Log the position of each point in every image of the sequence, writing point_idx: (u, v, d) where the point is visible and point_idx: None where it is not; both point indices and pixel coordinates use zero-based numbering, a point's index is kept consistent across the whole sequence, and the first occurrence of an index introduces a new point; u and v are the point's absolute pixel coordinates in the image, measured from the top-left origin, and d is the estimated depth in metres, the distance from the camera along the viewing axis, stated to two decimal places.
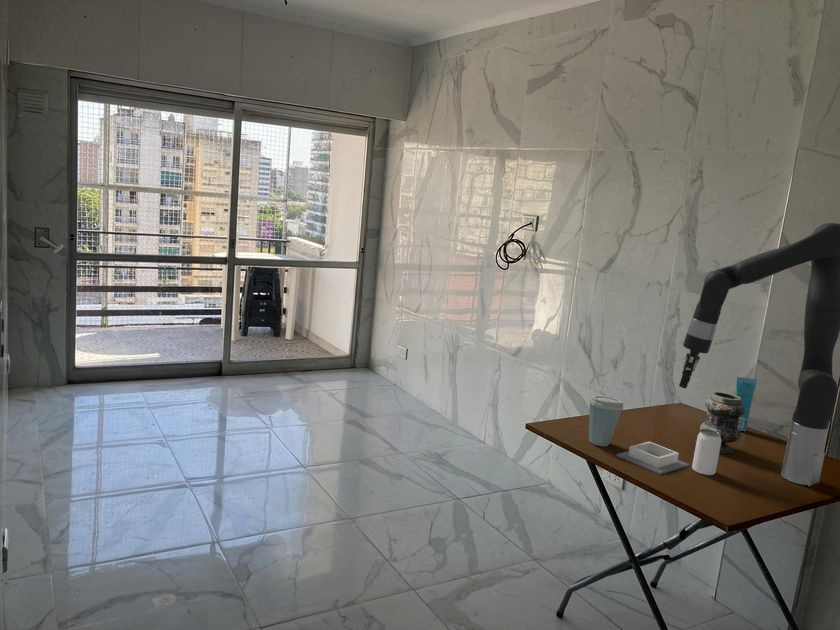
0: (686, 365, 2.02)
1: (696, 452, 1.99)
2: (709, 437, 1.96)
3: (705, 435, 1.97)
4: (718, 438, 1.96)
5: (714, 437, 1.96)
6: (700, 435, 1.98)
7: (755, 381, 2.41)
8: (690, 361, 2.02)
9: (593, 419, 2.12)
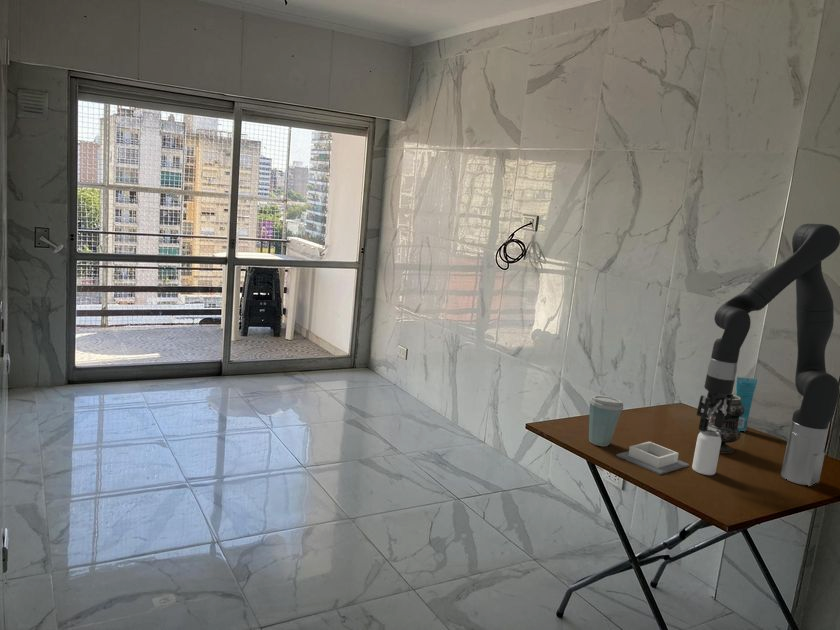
0: (699, 406, 1.93)
1: (696, 452, 1.99)
2: (709, 437, 1.96)
3: (705, 435, 1.97)
4: (718, 438, 1.96)
5: (714, 437, 1.96)
6: (700, 435, 1.98)
7: (755, 381, 2.41)
8: (703, 401, 1.92)
9: (593, 419, 2.12)
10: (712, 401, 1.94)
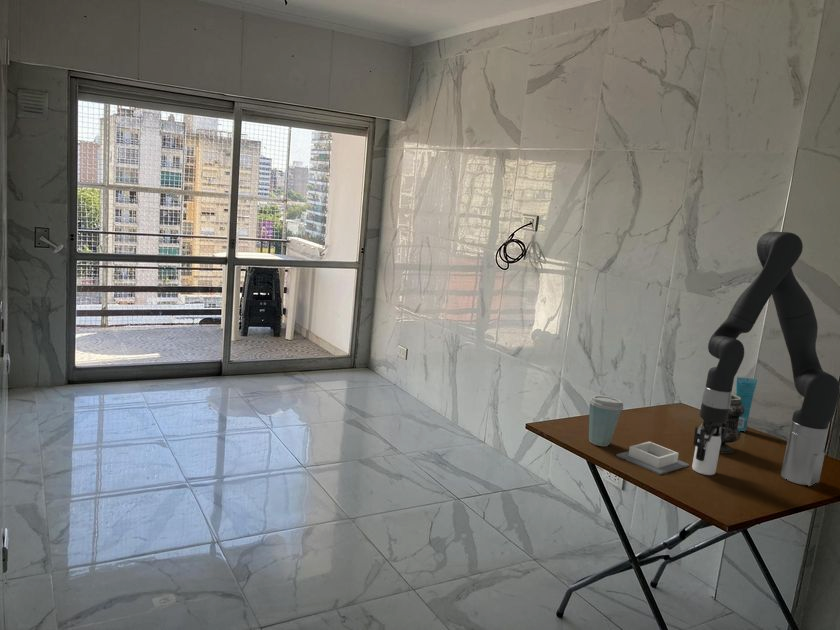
0: (695, 437, 1.95)
1: (696, 452, 1.99)
2: None
3: (705, 435, 1.97)
4: (718, 438, 1.96)
5: (714, 437, 1.96)
6: None
7: (755, 381, 2.41)
8: (698, 433, 1.94)
9: (593, 419, 2.12)
10: (707, 430, 1.95)
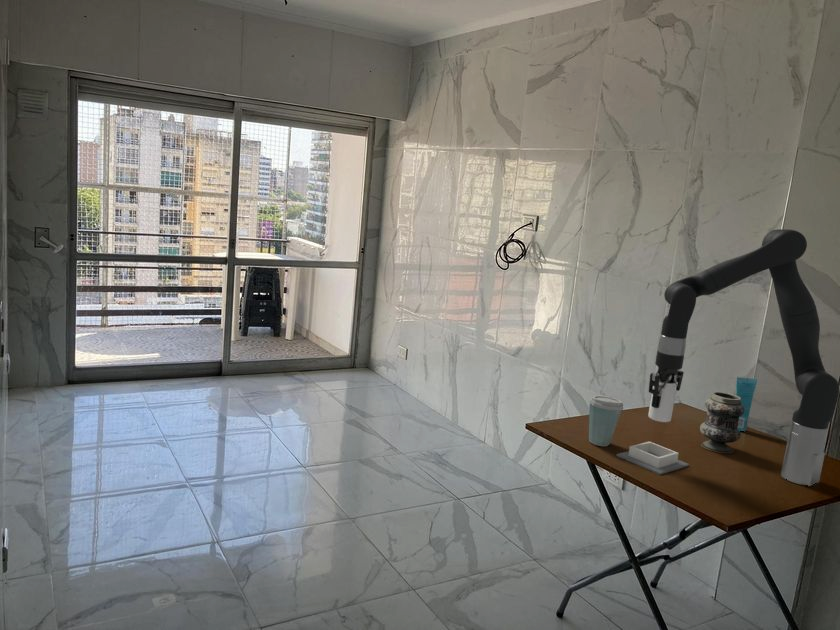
0: (650, 383, 1.97)
1: None
2: None
3: (660, 382, 1.98)
4: (673, 385, 1.98)
5: (669, 384, 1.98)
6: None
7: (755, 381, 2.41)
8: (653, 379, 1.96)
9: (593, 419, 2.12)
10: (662, 377, 1.97)
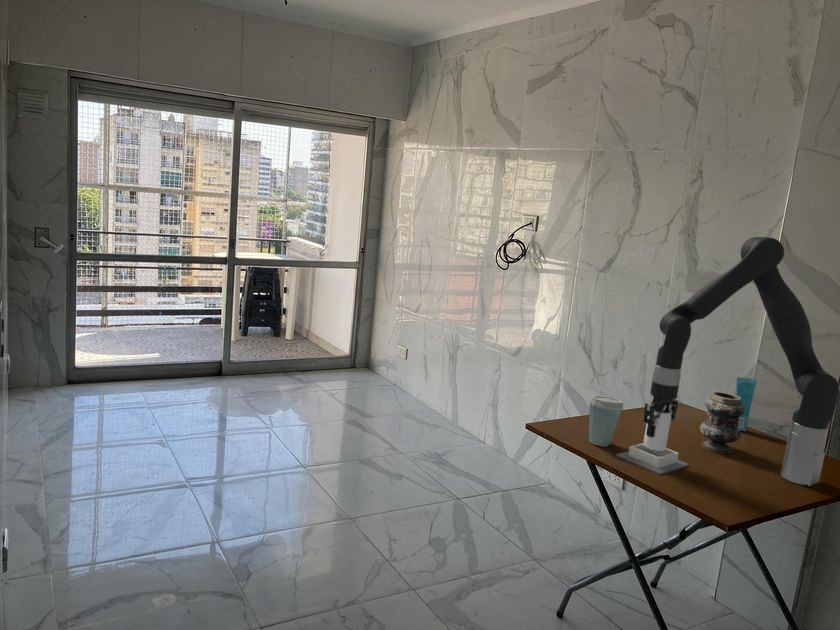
0: (645, 413, 1.99)
1: None
2: None
3: (655, 412, 2.00)
4: (668, 415, 2.00)
5: (664, 414, 1.99)
6: None
7: (755, 381, 2.41)
8: (648, 409, 1.98)
9: (593, 419, 2.12)
10: (657, 407, 1.99)
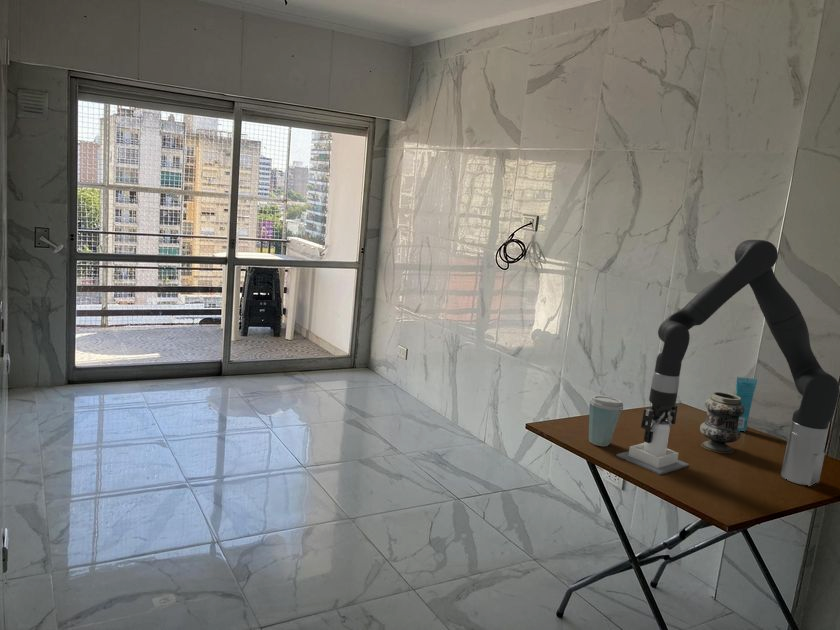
0: (643, 418, 1.99)
1: None
2: None
3: None
4: (666, 426, 2.00)
5: (662, 425, 2.00)
6: None
7: (755, 381, 2.41)
8: (646, 414, 1.98)
9: (593, 419, 2.12)
10: (656, 414, 1.99)
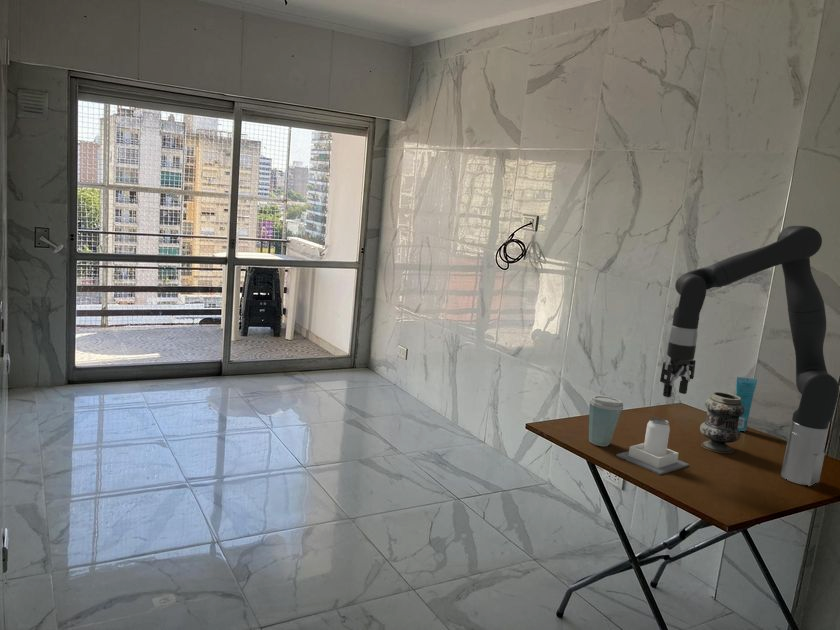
0: (662, 372, 1.97)
1: (646, 440, 2.03)
2: (657, 425, 2.00)
3: (654, 423, 2.01)
4: (666, 426, 2.00)
5: (662, 425, 2.00)
6: (649, 423, 2.02)
7: (755, 381, 2.41)
8: (665, 368, 1.97)
9: (593, 419, 2.12)
10: (674, 367, 1.98)
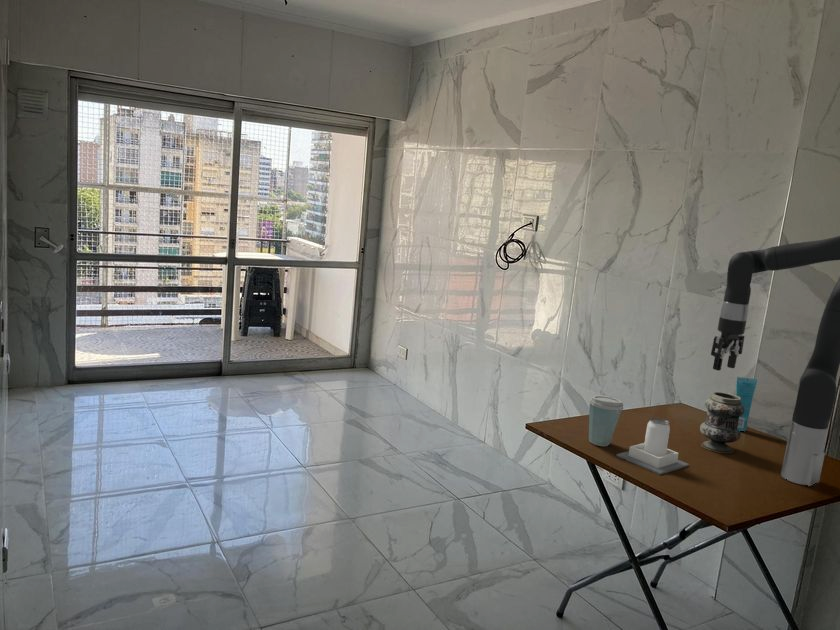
0: (713, 346, 2.05)
1: (646, 440, 2.03)
2: (657, 425, 2.00)
3: (654, 423, 2.01)
4: (667, 426, 2.00)
5: (663, 425, 2.00)
6: (649, 423, 2.02)
7: (755, 381, 2.41)
8: (717, 342, 2.04)
9: (593, 419, 2.12)
10: (725, 341, 2.05)
